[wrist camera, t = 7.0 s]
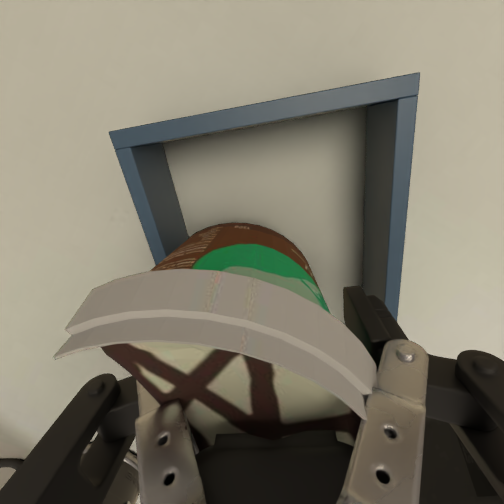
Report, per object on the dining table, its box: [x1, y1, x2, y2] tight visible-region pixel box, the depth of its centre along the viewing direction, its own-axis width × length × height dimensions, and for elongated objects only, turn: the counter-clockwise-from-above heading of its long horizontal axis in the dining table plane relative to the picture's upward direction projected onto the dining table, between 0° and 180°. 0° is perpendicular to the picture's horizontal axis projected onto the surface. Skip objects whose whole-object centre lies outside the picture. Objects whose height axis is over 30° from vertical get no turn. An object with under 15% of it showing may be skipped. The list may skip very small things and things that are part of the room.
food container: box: [53, 223, 378, 451], centre depth 11 cm, size 12×6×10 cm, turn 29°
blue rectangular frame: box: [109, 72, 420, 322], centre depth 17 cm, size 14×18×4 cm
